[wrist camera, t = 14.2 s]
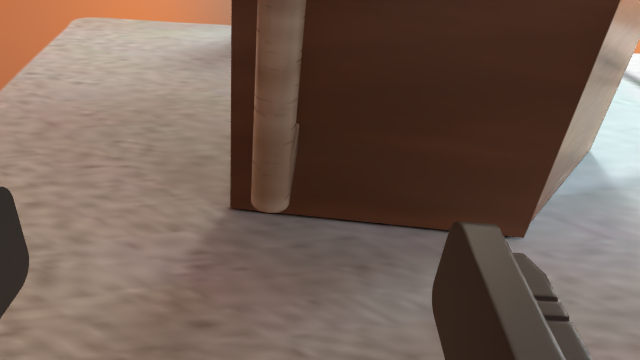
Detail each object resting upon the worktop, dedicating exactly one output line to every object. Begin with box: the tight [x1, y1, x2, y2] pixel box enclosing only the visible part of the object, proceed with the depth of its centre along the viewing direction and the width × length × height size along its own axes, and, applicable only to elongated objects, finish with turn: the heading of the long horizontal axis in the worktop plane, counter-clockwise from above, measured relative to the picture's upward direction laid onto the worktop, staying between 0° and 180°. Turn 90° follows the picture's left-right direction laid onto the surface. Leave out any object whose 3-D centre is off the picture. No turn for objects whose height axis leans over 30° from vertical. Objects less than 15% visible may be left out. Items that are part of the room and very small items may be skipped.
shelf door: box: [230, 0, 621, 238], centre depth 20 cm, size 6×16×20 cm, turn 88°
